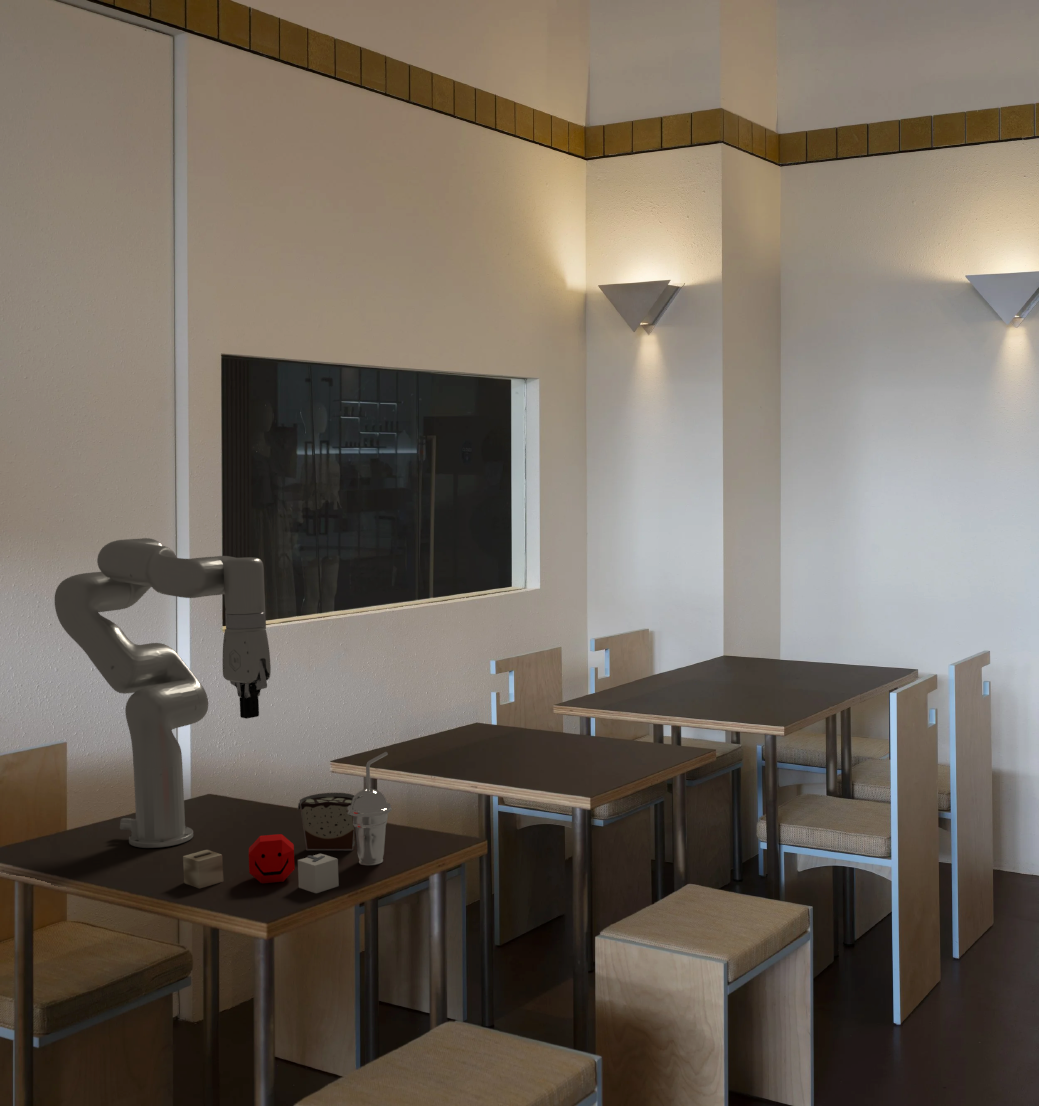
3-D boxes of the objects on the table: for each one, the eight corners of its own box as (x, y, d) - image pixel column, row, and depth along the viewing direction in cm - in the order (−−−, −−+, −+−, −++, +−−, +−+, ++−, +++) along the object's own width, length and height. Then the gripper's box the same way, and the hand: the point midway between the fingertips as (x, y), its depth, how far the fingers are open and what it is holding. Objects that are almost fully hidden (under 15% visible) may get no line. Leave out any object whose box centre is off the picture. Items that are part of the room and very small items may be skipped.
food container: (367, 841, 243) (366, 791, 243) (360, 850, 237) (358, 799, 237) (307, 841, 245) (305, 791, 244) (298, 850, 239) (296, 799, 238)
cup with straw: (342, 859, 232) (338, 755, 231) (387, 851, 236) (383, 749, 235) (356, 871, 224) (352, 764, 223) (402, 863, 228) (399, 758, 227)
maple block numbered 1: (184, 883, 221) (182, 855, 220) (208, 876, 224) (207, 848, 224) (199, 889, 217) (197, 860, 217) (223, 881, 221) (222, 853, 221)
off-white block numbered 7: (298, 887, 216) (296, 859, 216) (320, 880, 220) (319, 852, 220) (315, 893, 213) (314, 864, 213) (338, 886, 216) (337, 857, 216)
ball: (249, 888, 217) (247, 846, 216) (250, 874, 224) (248, 833, 224) (295, 884, 218) (293, 842, 218) (294, 870, 226) (292, 830, 226)
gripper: (207, 622, 236) (211, 716, 237) (251, 626, 225) (255, 724, 226) (240, 618, 241) (244, 710, 242) (285, 622, 231) (289, 718, 232)
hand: (249, 716), depth 234 cm, fingers closed
